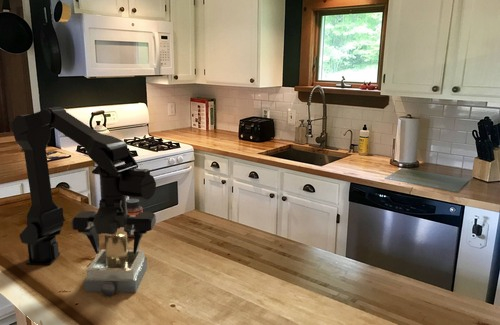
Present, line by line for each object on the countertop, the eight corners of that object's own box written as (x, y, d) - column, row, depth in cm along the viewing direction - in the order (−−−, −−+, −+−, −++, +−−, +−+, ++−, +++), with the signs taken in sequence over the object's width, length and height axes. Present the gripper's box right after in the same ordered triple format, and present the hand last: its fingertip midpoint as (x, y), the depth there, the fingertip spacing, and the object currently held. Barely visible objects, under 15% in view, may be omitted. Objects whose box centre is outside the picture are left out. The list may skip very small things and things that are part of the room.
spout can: (103, 274, 99) (101, 231, 96) (109, 263, 104) (107, 223, 102) (125, 274, 99) (123, 231, 97) (130, 263, 104) (129, 223, 102)
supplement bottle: (138, 239, 126) (136, 204, 124) (120, 237, 127) (118, 202, 125) (146, 231, 132) (145, 198, 129) (129, 229, 133) (128, 196, 130)
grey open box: (81, 296, 95) (80, 274, 93) (101, 267, 108) (100, 248, 107) (133, 296, 95) (133, 275, 94) (147, 268, 108) (146, 249, 107)
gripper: (59, 203, 89) (64, 268, 93) (145, 205, 90) (147, 269, 93) (78, 188, 100) (82, 247, 103) (155, 190, 100) (156, 248, 104)
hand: (116, 253), depth 101 cm, fingers open, 9 cm apart
